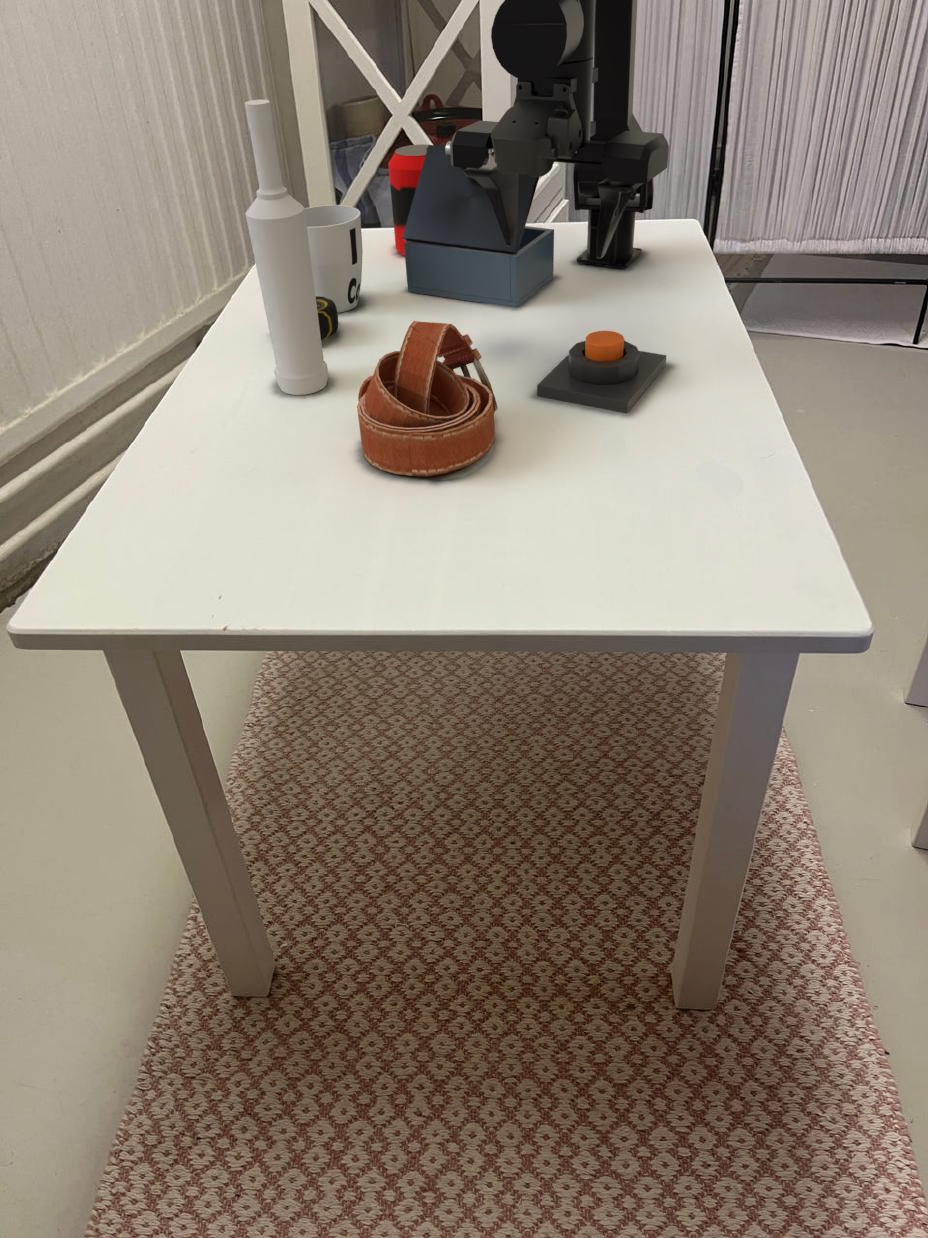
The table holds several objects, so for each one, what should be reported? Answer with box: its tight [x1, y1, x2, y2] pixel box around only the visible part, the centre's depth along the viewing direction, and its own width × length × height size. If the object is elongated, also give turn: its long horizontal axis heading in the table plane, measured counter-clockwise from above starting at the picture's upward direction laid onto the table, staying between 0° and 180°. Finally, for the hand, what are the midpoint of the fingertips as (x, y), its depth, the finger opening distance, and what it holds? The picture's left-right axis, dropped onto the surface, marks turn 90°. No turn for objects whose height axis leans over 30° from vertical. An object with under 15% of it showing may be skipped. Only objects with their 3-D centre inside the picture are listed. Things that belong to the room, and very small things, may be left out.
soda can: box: [387, 144, 429, 257], centre depth 119 cm, size 8×8×12 cm
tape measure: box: [316, 296, 340, 342], centre depth 100 cm, size 7×7×4 cm
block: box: [536, 339, 667, 414], centre depth 89 cm, size 11×9×3 cm
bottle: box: [244, 99, 329, 396], centre depth 84 cm, size 5×5×25 cm
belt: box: [356, 320, 499, 478], centre depth 79 cm, size 14×13×10 cm
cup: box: [304, 204, 363, 314], centre depth 105 cm, size 8×8×10 cm
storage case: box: [404, 225, 555, 309], centre depth 110 cm, size 10×14×6 cm
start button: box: [585, 330, 625, 362], centre depth 88 cm, size 4×4×2 cm
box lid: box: [402, 140, 540, 255], centre depth 102 cm, size 11×14×5 cm
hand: (554, 250), depth 87 cm, fingers open, 9 cm apart
